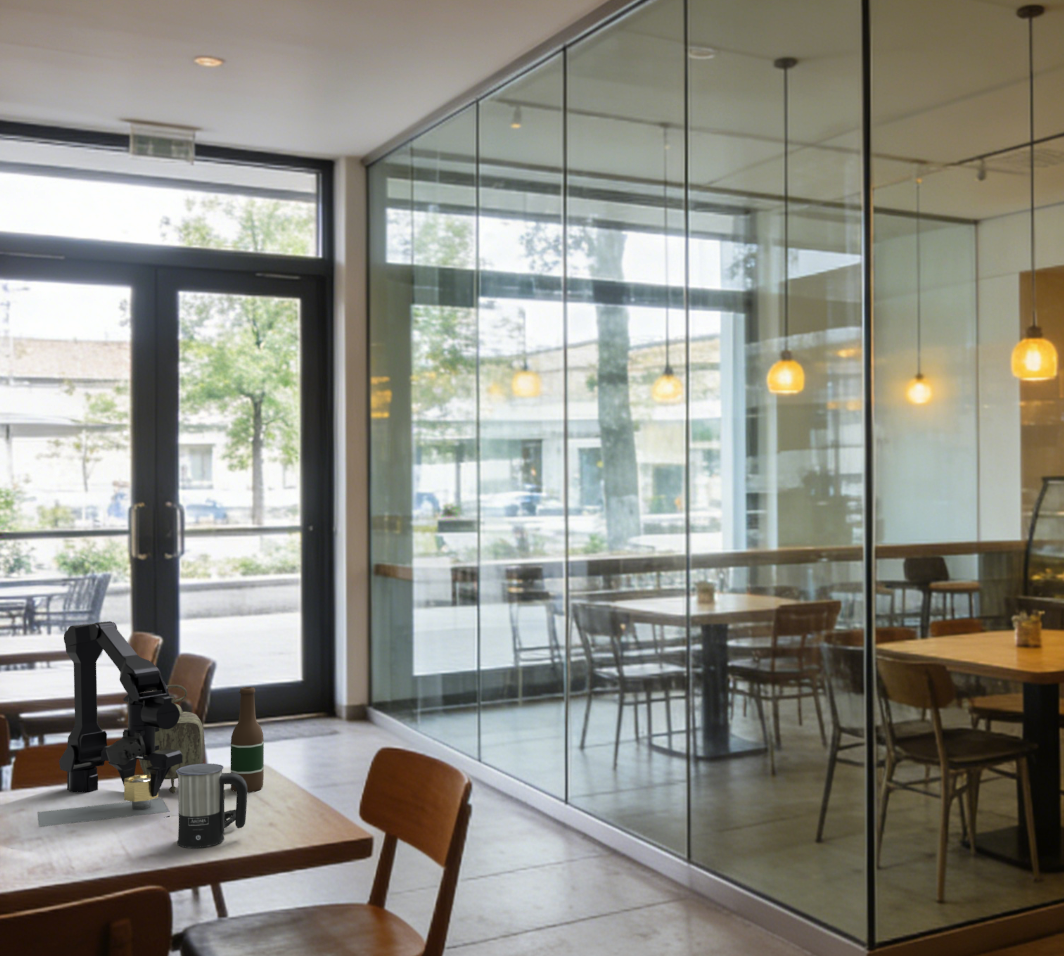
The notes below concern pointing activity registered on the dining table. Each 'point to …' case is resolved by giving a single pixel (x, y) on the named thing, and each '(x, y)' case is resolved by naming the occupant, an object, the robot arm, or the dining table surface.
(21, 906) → the dining table surface
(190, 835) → the milk frother
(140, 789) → the brass ring
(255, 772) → the beer bottle
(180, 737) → the tabletop clock
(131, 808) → the fit board
